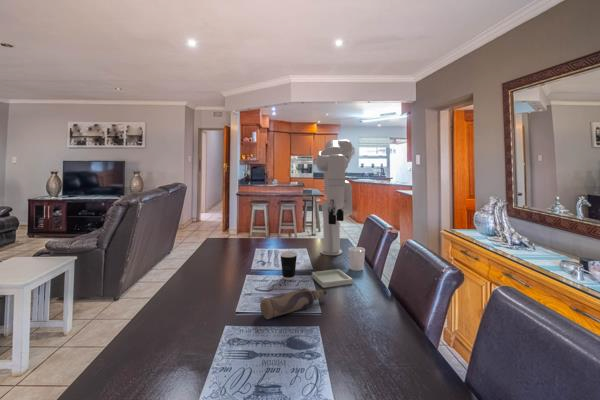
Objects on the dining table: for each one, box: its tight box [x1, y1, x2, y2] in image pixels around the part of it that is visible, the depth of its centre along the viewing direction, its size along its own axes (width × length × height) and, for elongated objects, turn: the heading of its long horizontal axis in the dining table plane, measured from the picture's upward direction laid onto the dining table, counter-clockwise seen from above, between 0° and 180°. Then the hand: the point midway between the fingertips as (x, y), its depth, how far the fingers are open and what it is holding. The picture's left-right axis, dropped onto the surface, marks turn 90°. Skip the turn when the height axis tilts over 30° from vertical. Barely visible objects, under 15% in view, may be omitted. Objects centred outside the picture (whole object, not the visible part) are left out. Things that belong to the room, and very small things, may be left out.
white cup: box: [348, 246, 366, 272], centre depth 144 cm, size 8×8×10 cm
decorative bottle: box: [259, 288, 328, 320], centre depth 103 cm, size 26×8×7 cm, turn 123°
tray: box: [311, 268, 354, 289], centre depth 130 cm, size 14×14×2 cm
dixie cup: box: [279, 251, 298, 281], centre depth 133 cm, size 8×8×11 cm
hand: (336, 222), depth 129 cm, fingers open, 9 cm apart
